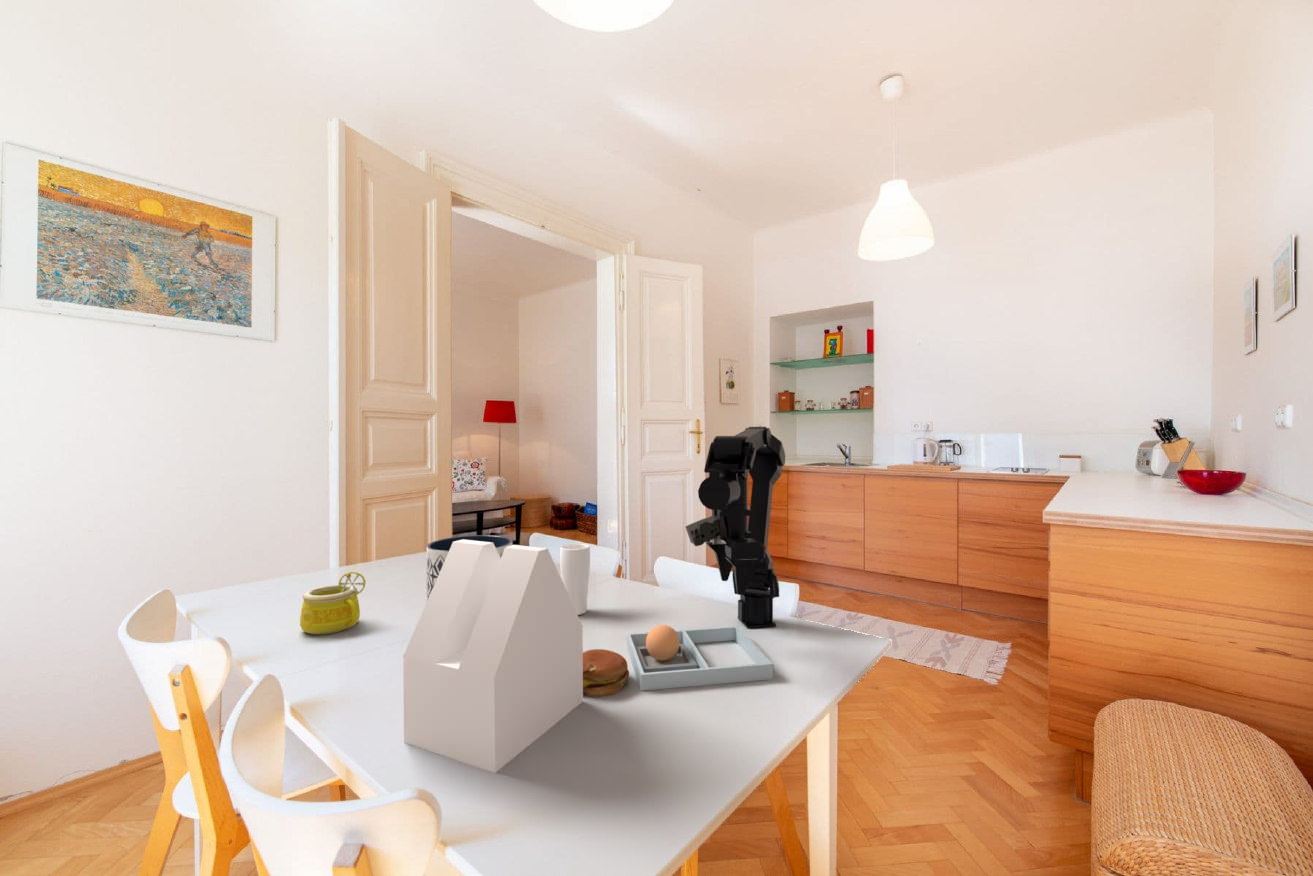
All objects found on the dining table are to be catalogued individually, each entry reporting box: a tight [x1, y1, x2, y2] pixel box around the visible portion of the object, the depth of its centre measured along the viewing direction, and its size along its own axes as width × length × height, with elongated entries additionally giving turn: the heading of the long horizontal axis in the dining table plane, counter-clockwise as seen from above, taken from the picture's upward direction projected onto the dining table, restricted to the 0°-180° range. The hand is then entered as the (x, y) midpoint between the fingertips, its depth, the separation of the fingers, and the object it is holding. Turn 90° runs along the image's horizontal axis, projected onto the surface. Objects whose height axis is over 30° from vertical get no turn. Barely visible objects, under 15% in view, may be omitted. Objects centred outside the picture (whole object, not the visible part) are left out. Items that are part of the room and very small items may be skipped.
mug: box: [299, 571, 366, 635], centre depth 113 cm, size 13×11×12 cm
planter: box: [426, 534, 514, 601], centre depth 121 cm, size 18×18×16 cm
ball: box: [646, 624, 680, 661], centre depth 97 cm, size 6×6×6 cm
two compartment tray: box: [626, 625, 774, 692], centre depth 96 cm, size 22×18×2 cm
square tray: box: [635, 643, 698, 673], centre depth 95 cm, size 10×10×2 cm
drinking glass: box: [559, 543, 591, 616], centre depth 123 cm, size 7×7×15 cm
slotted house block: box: [402, 539, 584, 774], centre depth 77 cm, size 19×15×25 cm
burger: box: [583, 648, 630, 698], centre depth 88 cm, size 10×9×5 cm
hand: (732, 587), depth 101 cm, fingers open, 9 cm apart
